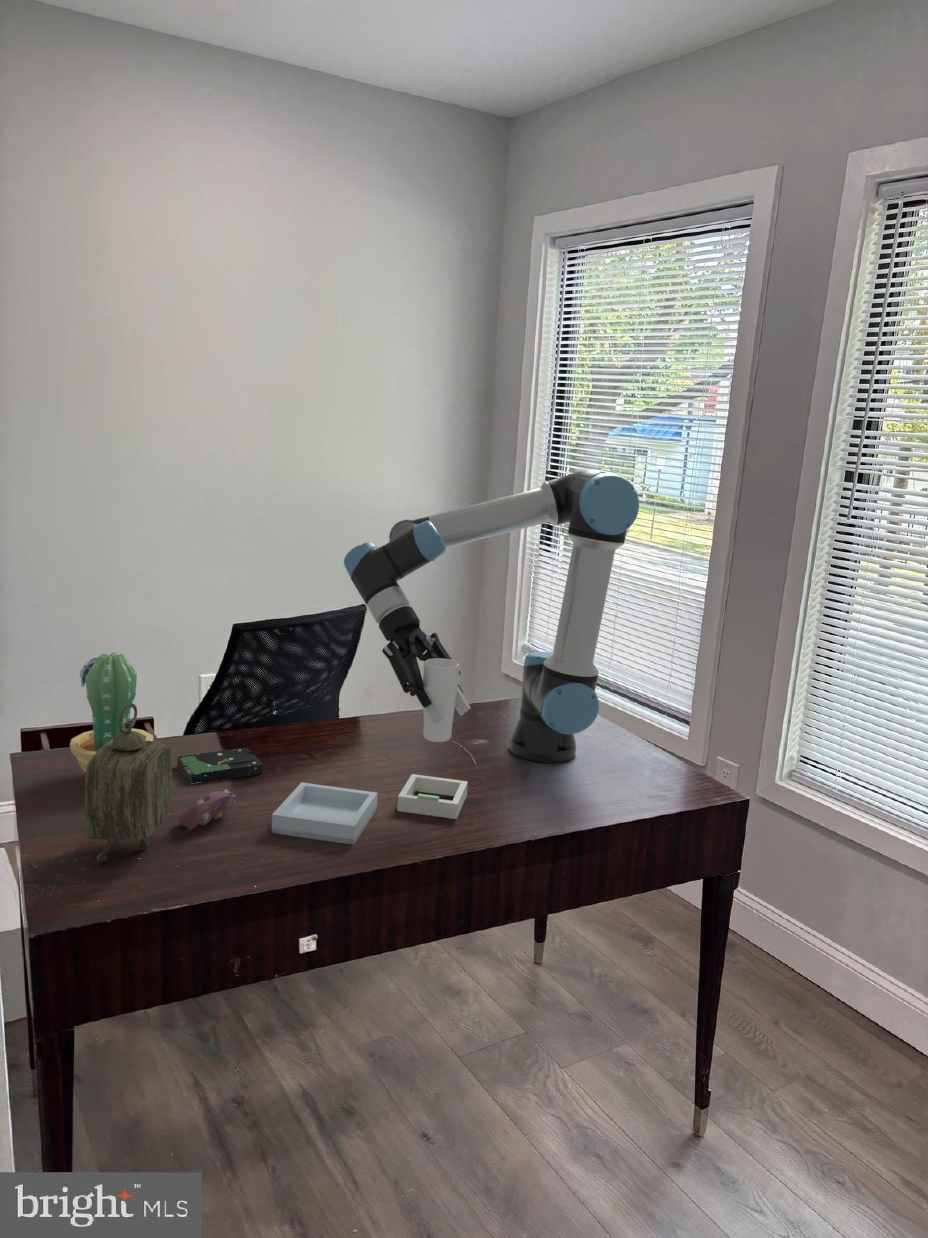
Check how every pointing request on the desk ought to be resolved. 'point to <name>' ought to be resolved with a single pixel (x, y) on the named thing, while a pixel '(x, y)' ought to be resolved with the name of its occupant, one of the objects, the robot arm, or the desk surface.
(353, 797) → the tray
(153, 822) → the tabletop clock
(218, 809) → the pink toy figurine
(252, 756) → the disk drive
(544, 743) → the robot arm
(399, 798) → the frame
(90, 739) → the potted cactus
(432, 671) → the drinking glass
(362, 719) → the desk surface
